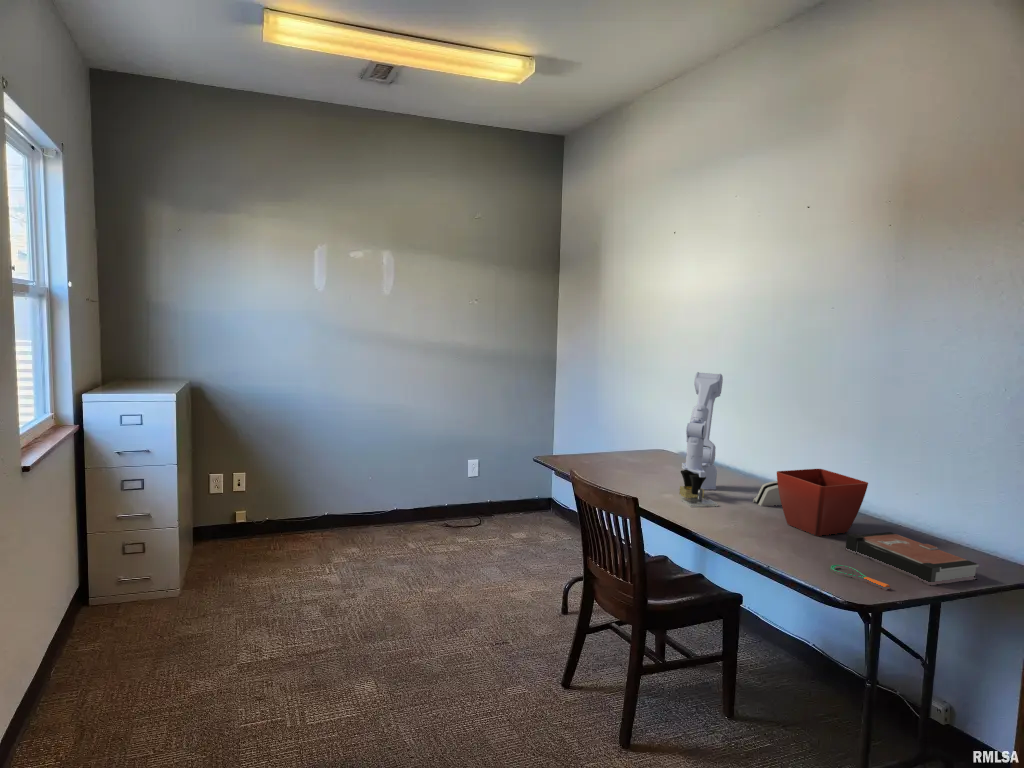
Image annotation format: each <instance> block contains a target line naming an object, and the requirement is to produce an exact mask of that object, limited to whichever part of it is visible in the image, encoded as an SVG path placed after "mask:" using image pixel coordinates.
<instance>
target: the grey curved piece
mask: <svg viewBox="0 0 1024 768" xmlns="http://www.w3.org/2000/svg"><path fill="white" fill-rule="evenodd" d="M752 503H758V504H757V505H758V506H759V505H760V507H772V506H773V507H775V506H774V505H776V507H778V506H777V505H782V504H781V500H780V495H779V489H778V483H777V480H774V481H770V482H766V483H763V484H762V485H761V487H760V489H759V491H758V494H757V495H756V497H754V498H753V500H752Z"/></svg>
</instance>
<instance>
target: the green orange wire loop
mask: <svg viewBox="0 0 1024 768" xmlns="http://www.w3.org/2000/svg"><path fill="white" fill-rule="evenodd" d="M836 566H845V567H849V568H852V569H854V570H856V571H857V572H859V573H860V574H861V575H863V576H864V577H863V576H862V577H861V576H858V577H861V578H864V579H867V580H869V581H871V582H873V583H876V584H878V585H881V586H883V587H891V586H890V585H889V584H888V583H885V582H882V581H879V580H876V579H874V578H871V577H869V576H866V575H865V574H863V573H862V572H861V571H859V570H857V569H855V568H854V567H851V566H847V565H842V564H832V565H831V566H830V570H831V569H832V570H834V571H837V572H840V573H844V574H847V573H846V572H842V571H840V570H837V569H834V568H835V567H836ZM848 575H852V574H848ZM853 576H856V575H853Z"/></svg>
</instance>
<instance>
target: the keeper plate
mask: <svg viewBox="0 0 1024 768" xmlns="http://www.w3.org/2000/svg"><path fill="white" fill-rule="evenodd" d="M702 495H703V490H702V489H698V497H697V498H685V497H683V498H681V502H682V501H683V502H682V503H684V504H685V503H686V505H687V506H688V507H690V508H691V507H692V508H698V507H699V508H701V507H705V508H706V507H707V508H708V507H709V508H711V507H715V506H716V507H718V505H719V504H718V503H717V502H716V501H714V500H712V499H710V498H709V497H704V498H702Z"/></svg>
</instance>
